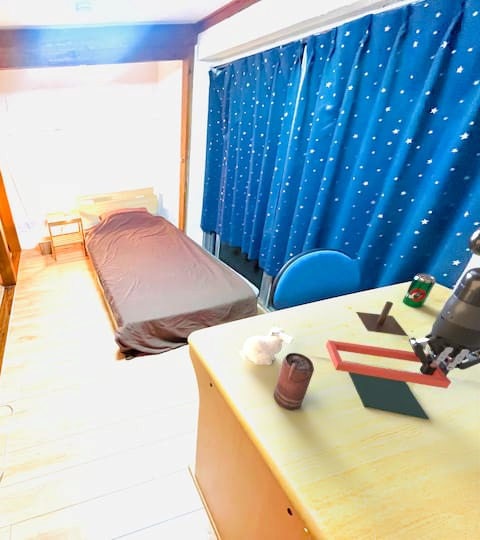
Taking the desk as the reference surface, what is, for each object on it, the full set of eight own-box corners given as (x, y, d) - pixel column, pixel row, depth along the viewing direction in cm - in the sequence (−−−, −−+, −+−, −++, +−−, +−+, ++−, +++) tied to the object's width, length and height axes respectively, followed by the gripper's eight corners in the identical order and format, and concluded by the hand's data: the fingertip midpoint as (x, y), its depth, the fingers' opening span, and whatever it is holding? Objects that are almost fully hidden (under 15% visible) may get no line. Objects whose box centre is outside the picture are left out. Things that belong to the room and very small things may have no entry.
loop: (325, 345, 74) (327, 340, 73) (424, 360, 67) (428, 354, 66) (335, 370, 67) (338, 364, 66) (447, 388, 60) (451, 382, 59)
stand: (390, 318, 93) (402, 295, 88) (406, 338, 84) (419, 315, 80) (354, 314, 96) (363, 292, 91) (366, 333, 88) (376, 310, 83)
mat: (401, 377, 73) (402, 376, 73) (428, 419, 63) (429, 418, 63) (346, 368, 77) (347, 367, 77) (364, 406, 67) (364, 405, 67)
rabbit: (271, 345, 87) (279, 315, 81) (291, 369, 78) (300, 337, 73) (234, 351, 86) (239, 321, 80) (249, 375, 78) (256, 343, 72)
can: (269, 402, 70) (279, 363, 64) (278, 386, 74) (289, 347, 67) (295, 417, 66) (310, 377, 60) (304, 399, 70) (318, 360, 63)
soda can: (425, 310, 94) (441, 280, 89) (407, 310, 95) (423, 280, 90) (413, 302, 99) (428, 272, 93) (397, 301, 100) (411, 272, 94)
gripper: (500, 310, 57) (458, 369, 65) (415, 302, 61) (386, 358, 70) (532, 335, 51) (481, 396, 59) (435, 324, 55) (401, 383, 64)
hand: (430, 376), depth 64 cm, fingers closed on loop, 1 cm apart
